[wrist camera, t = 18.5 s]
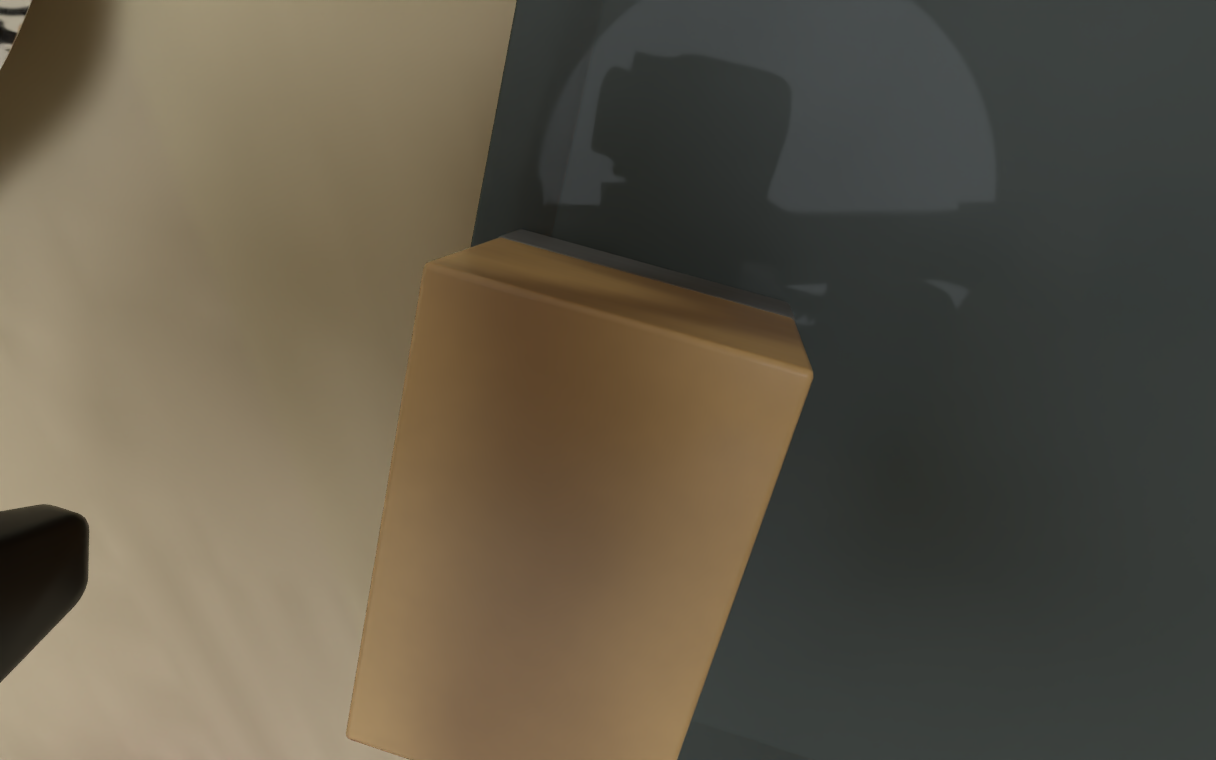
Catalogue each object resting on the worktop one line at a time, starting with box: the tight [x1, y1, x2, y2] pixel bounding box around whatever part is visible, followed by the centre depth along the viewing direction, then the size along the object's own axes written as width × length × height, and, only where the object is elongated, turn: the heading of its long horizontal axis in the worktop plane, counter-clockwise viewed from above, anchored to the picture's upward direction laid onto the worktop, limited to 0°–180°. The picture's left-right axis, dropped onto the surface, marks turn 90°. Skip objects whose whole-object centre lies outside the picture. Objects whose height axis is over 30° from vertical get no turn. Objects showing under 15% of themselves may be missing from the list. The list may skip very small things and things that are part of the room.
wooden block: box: [346, 229, 814, 760], centre depth 11 cm, size 4×7×4 cm, turn 166°
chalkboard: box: [471, 0, 1216, 760], centre depth 11 cm, size 16×24×1 cm, turn 166°
